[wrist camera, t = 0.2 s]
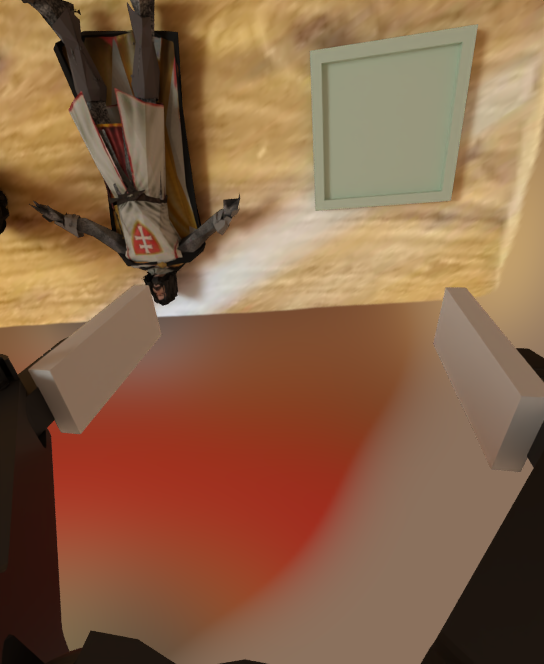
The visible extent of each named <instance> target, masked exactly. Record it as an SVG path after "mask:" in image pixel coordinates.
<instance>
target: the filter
mask: <svg viewBox="0 0 544 664" xmlns="http://www.w3.org/2000/svg"><path fill="white" fill-rule="evenodd" d="M7 203H8V202H7V198H6V196H5V194H4V193H3V192H2V191H0V234H1V233H2V232H3V231H4V230H5V228H6V219H7V218H8V217H9V211H8V209H7V208H6V206H7Z"/></svg>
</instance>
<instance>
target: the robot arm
mask: <svg viewBox="0 0 544 664" xmlns="http://www.w3.org/2000/svg"><path fill="white" fill-rule="evenodd" d="M161 335H162V334H161V330H160V327H159V323H158V319H157V315H156V311H155V307H154V303H153V300H152V296H151V292H150V288H149V285H133V286H132V287H131V288H129V289H128V290H127V291H126V292H124V293H123V294H122V295H121V296H119V297H118V298H117V299H116V300H114V301H113V302H112V303H111V304H109V305H108V306H107V307H106V308H104V309H103V310H102V311H101V312H99V313H98V314H97V315H96V316H94V317H93V318H92V319H91V320H89V321H88V322H87V323H86V324H84V325H83V326H82V327H81V328H79V329H78V330H77V331H76V332H74V333H73V334H72V335H71V336H69V337H67V338H65V339H63V340H61V341H60V342H59V343H57V344H56V345H55V346H54V347H52V348H51V350H48V351H47V352H46V353H45V354H43V356H41V357H40V358H38V359H37V360H36V361H35V362H33V363H32V364H31V365H30V366H28V367H27V368H26V369H25V370H23V371H22V372H21V373H19V374H17V373H16V371H15V369H14V367H13V365H12V364H11V362H10V360H9V358H8V356H6V355H3V354H0V664H175V663H174V662H172V661H170V660H169V659H167V658H166V657H164V656H163V655H161V654H160V653H158V652H157V651H155V650H154V649H152V648H151V647H149V646H147V645H146V644H144V643H143V642H141V641H140V640H138V639H133V638H127V637H123V636H117V635H112V634H106V633H101V632H96V631H90V633H89V635H88V637H87V639H86V641H85V644H84V645H83V648H79V649H76V650H73V651H70V652H69V649H68V646H67V644H66V641H65V638H64V635H63V631H62V623H61V607H60V606H61V605H60V588H59V571H58V570H59V569H58V552H57V534H56V518H55V517H56V516H55V498H54V480H53V463H52V445H51V435H50V432H49V430H48V429H47V427H48V426H49V425H50V424H51V423H52V422H53V421H54V420H55V422H56V424H57V426H58V428H59V429H60V431H61V432H63V433H74V434H81V433H82V432H83V430H84V429H85V428H86V426H87V425H88V424H89V423H90V422H91V421H92V419H93V418H94V417H95V416H96V415H97V413H98V412H99V411H100V410H101V408H102V407H103V406H104V405H105V404H106V402H107V401H108V400H109V399H110V397H111V396H112V395H113V394H114V393H115V391H116V390H117V389H118V388H119V387H120V385H121V384H122V383H123V382H124V380H125V379H126V378H127V377H128V376H129V374H130V373H131V372H132V371H133V369H134V368H135V367H136V366H137V364H138V363H139V362H140V361H141V360H142V358H143V357H144V356H145V355H146V353H147V352H148V351H149V350H150V349H151V347H152V346H153V345H154V344H155V342H156V341H157V340H158V339H159V338H160V336H161ZM433 344H434V347H435V349H436V351H437V353H438V355H439V357H440V360H441V362H442V364H443V366H444V368H445V370H446V373H447V374H448V377H449V379H450V381H451V384H452V385H453V388H454V390H455V392H456V394H457V396H458V399H459V401H460V403H461V405H462V407H463V409H464V412H465V414H466V416H467V418H468V420H469V423H470V425H471V427H472V429H473V431H474V433H475V436H476V438H477V440H478V442H479V444H480V446H481V449H482V451H483V453H484V455H485V457H486V459H487V462H488V464H489V466H490V468H491V469H492V470H504V471H515V472H521V470H522V468H523V466H524V464H525V462H526V460H527V458H528V459H529V460H530V462H531V464H532V465H533V467H534V469H533V470H532V472H531V474H530V476H529V477H528V479H527V481H526V483H525V484H524V486H523V488H522V490H521V491H520V493H519V495H518V497H517V499H516V500H515V502H514V504H513V505H512V507H511V509H510V511H509V513H508V514H507V516H506V518H505V520H504V521H503V523H502V525H501V526H500V528H499V530H498V532H497V534H496V535H495V537H494V539H493V541H492V542H491V544H490V546H489V547H488V549H487V551H486V553H485V555H484V556H483V558H482V560H481V561H480V563H479V565H478V567H477V568H476V570H475V572H474V574H473V575H472V577H471V579H470V581H469V583H468V584H467V586H466V588H465V590H464V591H463V593H462V595H461V597H460V598H459V600H458V602H457V604H456V606H455V607H454V609H453V611H452V612H451V614H450V616H449V618H448V619H447V621H446V623H445V625H444V626H443V628H442V630H441V632H440V633H439V635H438V637H437V639H436V640H435V642H434V643H433V645H432V646H431V647H430V649H429V651H428V652H427V654H426V655H425V658H424V659H423V661H422V663H421V664H544V358H543V357H541V356H539V355H538V354H536V353H535V352H533V351H531V350H530V349H524V348H515V347H514V346H513V344H511V342H510V341H509V340H508V338H507V337H506V336H505V335H504V334H503V332H502V331H501V330H500V329H499V327H498V326H497V325H496V324H495V323H494V321H493V320H492V319H491V318H490V317H489V315H488V314H487V313H486V312H485V310H484V309H483V308H482V307H481V305H480V304H479V303H478V302H477V301H476V299H475V298H474V297H473V296H472V295H471V293H470V292H469V291H468V290H467V288H446V289H445V293H444V298H443V302H442V307H441V311H440V316H439V320H438V325H437V330H436V334H435V339H434V343H433ZM222 664H266V663H261V662H256V661H250V660H239V661H234V662H227V663H222Z"/></svg>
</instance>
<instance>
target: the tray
mask: <svg viewBox="0 0 544 664" xmlns="http://www.w3.org/2000/svg"><path fill="white" fill-rule="evenodd" d="M477 28H478V24H477V25H471V26H464V27H458V28H452V29H445V30H439V31H433V32H427V33H420V34H414V35H408V36H401V37H395V38H389V39H383V40H376V41H370V42H364V43H357V44H351V45H345V46H339V47H332V48H326V49H320V50H313V51H310V66H311V94H312V123H313V152H314V180H315V209H316V211H319V210H332V209H346V208H360V207H373V206H387V205H400V204H414V203H427V202H441V201H451V197H452V190H453V184H454V177H455V171H456V164H457V158H458V151H459V145H460V138H461V132H462V125H463V119H464V112H465V106H466V99H467V93H468V86H469V80H470V73H471V67H472V60H473V54H474V47H475V41H476V34H477Z"/></svg>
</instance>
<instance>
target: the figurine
mask: <svg viewBox="0 0 544 664" xmlns="http://www.w3.org/2000/svg"><path fill="white" fill-rule="evenodd" d="M130 1H131V3H132V6H133V8H134V10H135V12H134V11H133V10H132V9H131V7H130V6H129V4H128V3H127V6H128V11H129V15H130V20H131V25H132V29H133V31H132V30H131V31H83V32H81V30H80V20H79V19H78V18H77V17H76V16H75V15H74V12H78V13H79V14H80V10H78V11H74V4H71V3H69V2H66V1H63V0H22V2H23V3H29V4H30V5H31V6H33V7H34V8H35V9H36V10H38V11H39V13H40V14H41V15H42V16H43V18H44V19H45V20H46V21H47V23H48V24H49V25H50V26H51V28H52V29H53V30H54V32H55V33H56V34H57V35H58V37H59V38H60V39H61V41H59V42H57V43H55V46H54V51H55V54H56V56H57V58H58V60H59V63H60V65H61V67H62V70H63V72H64V74H65V77H66V79H67V81H68V84H69V86H70V88H71V90H72V93H73V95H74V97H75V99H74V101H73V102H72V104H71V106H70V108H69V112H70V114H71V116H72V118H73V120H74V122H75V124H76V126H77V128H78V130H79V132H80V134H81V136H82V138H83V140H84V142H85V144H86V146H87V148H88V150H89V152H90V154H91V156H92V158H93V160H94V162H95V164H96V166H97V168H98V169H99V171H100V173H101V175H102V176H103V179H104V182H105V185H106V188H107V192H108V201H109V209H110V218H111V226H112V230H110V229H108V228H106V227H104V226H101V225H99V224H97V223H95V222H93V221H91V220H88V219H86V218H81V217H80V216H79V215H76V214H73V215H71V214H67V213H66V214H65V215H63V214H61V213H59V212H57V211H55V210H53V209H52V208H50V207H49V206H46V205H41V204H38V203H36V202H35V201H34V203H35V204H36V206H37V207H35V206H33V205H31V206H32V207H33V208H35V209H36V210H37V211H39V212H40V213H41V214H43V215H42V216H43V217H44V218H45V219H46V220H48V221H49V222H52V221H55V224H56V225H58V226H60V227H62V228H63V229H65V230H67V231H69V232H70V233H72V234H73V235H75V236H77V237H78V238H79V237H83V236H84V233H86V234H88V235H91V236H94V237H95V238H97V239H98V240H100V241H101V242H103V243H104V244H106V245H107V246H109V247H110V248H112V249H113V250H115V251H117V252H118V254H119V255H120V256H121V258H122V259H123V261H124V262H125V263H126V265H127V266H131V267H133V268H139V269H142V270H147V271H148V272H147V273H148V274H147V276H146V275H145V276H144V277H145V279H143V280H144V282H145V285H149V288H150V292H151V294H152V296H153V297H154V301H155V302H156V303H160V304H161V305H162V306H163V305H167V304H169V303H170V302H171V301H173V300H175V297H176V296H178V295H177V292H178V287H177V277H176V272H177V271H178V270H179V269H180V268H181V267H182V266H183V265H184V264H185V263H188V262H191V261H192V260H193V259H195V258H196V257H197V256H198V255H199V254H200V253H202V252H203V251H204V248H205V245H206V243H205V241H206V239H207V238H208V237H209V236H210V235H212V234H213V233H214V232H216V231H217V232H218V233H220V234H221V235H223V234H224V232H225V231H226V229H227V228H228V226H229V223H230V221H231V219H232V216H234V215H236V214H237V213H238V211H239V209H238V205H239V204H240V203H239V201H240V194H239V198H238V199H227V200H223V202H224V209H221V210H219V211H218V212H216V213H215V214H214V215H213V216H212V217H211V218H209V219H208V220H207V221H206V222H205V223H204V224H203V225H201V222H200V218H199V214H198V210H197V205H196V201H195V194H194V186H193V179H192V172H191V165H190V158H189V150H188V143H187V136H186V129H185V122H184V115H183V107H182V91H181V75H180V59H179V43H178V32H171V31H154V0H130ZM75 10H76V9H75ZM80 15H81V14H80ZM62 50H63V51H62ZM179 113H180V118H179ZM29 205H30V204H29ZM144 277H143V278H144Z"/></svg>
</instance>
